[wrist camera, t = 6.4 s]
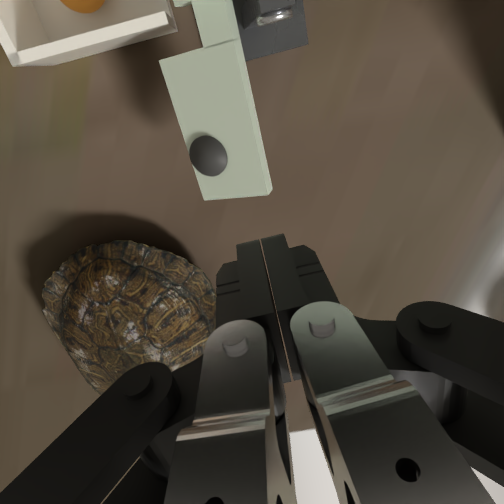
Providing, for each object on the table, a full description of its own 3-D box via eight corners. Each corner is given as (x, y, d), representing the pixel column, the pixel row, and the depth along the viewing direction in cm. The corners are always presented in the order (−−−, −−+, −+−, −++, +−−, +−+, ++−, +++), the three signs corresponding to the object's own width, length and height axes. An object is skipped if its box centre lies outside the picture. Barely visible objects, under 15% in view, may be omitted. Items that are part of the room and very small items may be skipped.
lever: (560, -421, 10) (634, -622, 7) (491, 169, 18) (509, 202, 15) (107, -135, 17) (39, -168, 13) (210, 194, 25) (182, 220, 22)
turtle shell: (185, 229, 26) (249, 429, 32) (195, 206, 35) (244, 368, 41) (-22, 282, 26) (82, 471, 32) (39, 247, 35) (112, 402, 41)
